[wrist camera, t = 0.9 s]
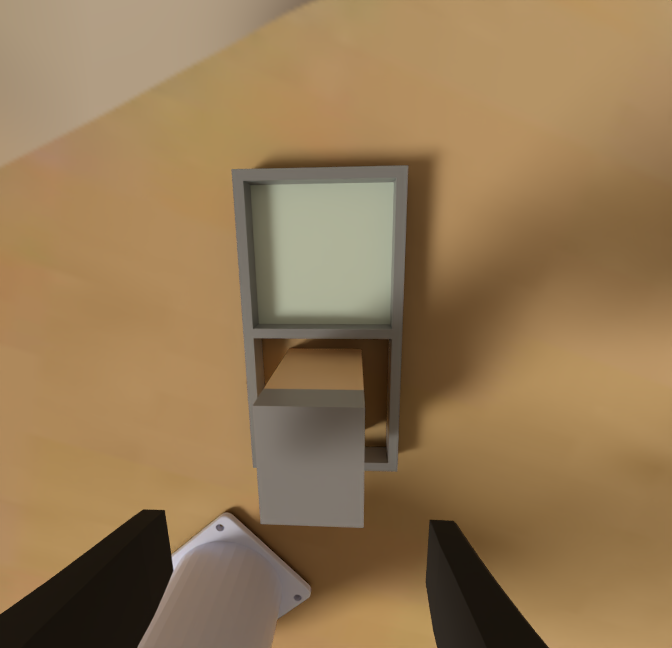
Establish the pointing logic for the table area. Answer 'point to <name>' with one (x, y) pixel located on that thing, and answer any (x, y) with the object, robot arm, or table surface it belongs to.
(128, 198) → the table surface
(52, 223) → the table surface
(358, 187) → the gray divided rectangular frame
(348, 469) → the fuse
